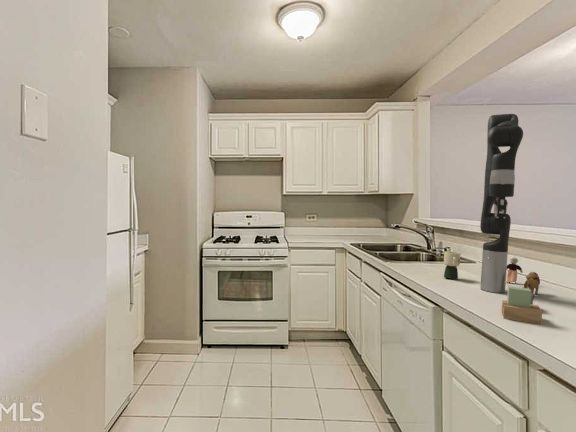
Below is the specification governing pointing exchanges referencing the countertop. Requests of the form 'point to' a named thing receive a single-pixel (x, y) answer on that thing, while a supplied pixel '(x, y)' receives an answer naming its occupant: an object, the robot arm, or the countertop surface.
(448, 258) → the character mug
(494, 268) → the robot arm
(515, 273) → the grandmother figurine
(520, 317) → the oak block
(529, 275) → the lion figurine
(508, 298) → the sage brick
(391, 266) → the countertop surface
